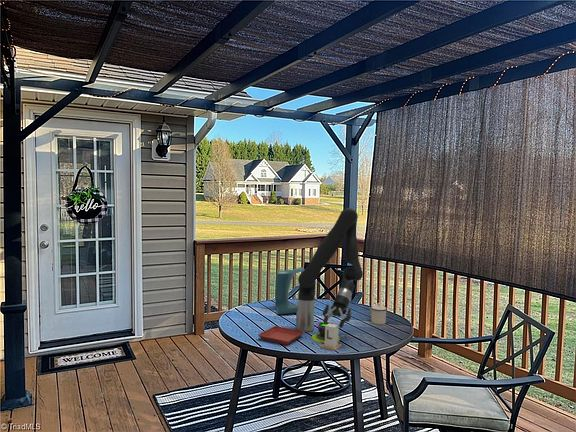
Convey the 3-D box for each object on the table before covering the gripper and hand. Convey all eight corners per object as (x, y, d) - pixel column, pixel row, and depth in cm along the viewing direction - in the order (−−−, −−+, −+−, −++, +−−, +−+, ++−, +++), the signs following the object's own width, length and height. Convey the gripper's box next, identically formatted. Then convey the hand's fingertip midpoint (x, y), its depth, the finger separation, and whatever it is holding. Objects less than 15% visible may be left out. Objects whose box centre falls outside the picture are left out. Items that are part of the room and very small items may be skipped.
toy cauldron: (345, 338, 221) (346, 318, 221) (328, 345, 210) (329, 323, 210) (323, 332, 231) (324, 312, 231) (306, 337, 220) (306, 317, 220)
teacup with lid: (389, 323, 251) (389, 304, 251) (378, 325, 246) (379, 306, 246) (375, 318, 261) (375, 300, 261) (364, 320, 256) (364, 301, 256)
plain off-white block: (324, 345, 207) (325, 325, 206) (328, 342, 211) (329, 323, 211) (333, 347, 204) (334, 327, 204) (337, 344, 209) (338, 325, 208)
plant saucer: (287, 347, 206) (288, 340, 206) (257, 340, 215) (257, 334, 215) (304, 337, 222) (304, 331, 222) (275, 331, 231) (275, 325, 230)
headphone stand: (315, 307, 284) (314, 266, 285) (311, 316, 257) (310, 271, 257) (277, 307, 288) (276, 267, 288) (270, 316, 260) (268, 272, 261)
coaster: (320, 347, 206) (320, 345, 206) (327, 342, 213) (327, 341, 213) (335, 350, 202) (335, 349, 202) (341, 346, 209) (341, 344, 209)
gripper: (328, 292, 219) (317, 318, 210) (354, 296, 212) (343, 324, 203) (332, 300, 224) (321, 326, 215) (357, 305, 217) (347, 332, 207)
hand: (332, 325), depth 209 cm, fingers open, 8 cm apart
